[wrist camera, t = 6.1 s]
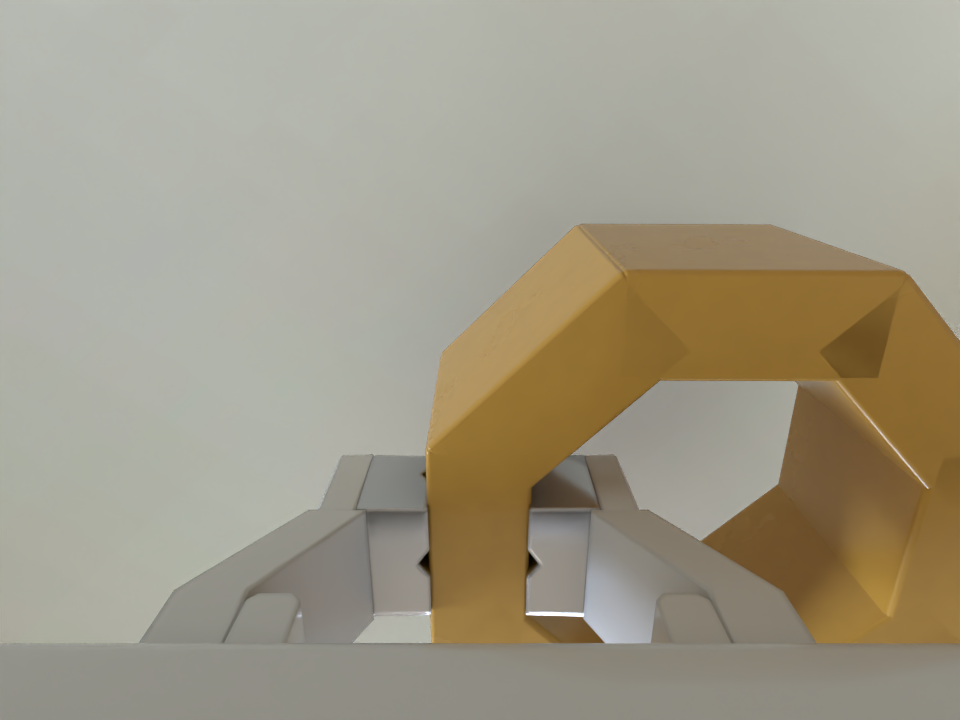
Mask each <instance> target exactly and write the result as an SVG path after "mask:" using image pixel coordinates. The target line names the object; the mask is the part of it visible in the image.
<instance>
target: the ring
mask: <svg viewBox="0 0 960 720" xmlns="http://www.w3.org/2000/svg"><path fill="white" fill-rule="evenodd" d="M660 380H671V381H795V382H796V383H797V384H798V390H797V395H796V400H795V405H794V410H793V415H792V420H791V424H790V429H789V434H788V439H787V444H786V449H785V454H784V459H783V464H782V469H781V474H780V479H779V484H778V485H776V486H775V487H774V488H772V489H771V490H770V491H768V492H767V493H766V494H764V495H763V496H761V497H760V498H759V499H757V500H756V501H755V502H753V503H752V504H751V505H749V506H748V507H747V508H745V509H744V510H742V511H741V512H740V513H738V514H737V515H736V516H734V517H733V518H732V519H730V520H729V521H727V522H726V523H725V524H723V525H722V526H721V527H719V528H718V529H717V530H715V531H714V532H712V533H711V534H710V535H708V536H707V537H706V538H704V539H703V540H702V541H701V542H702V543H704V544H706V545H707V546H709V547H711V548H712V549H714V550H716V551H717V552H719V553H721V554H722V555H724V556H726V557H727V558H729V559H731V560H732V561H734V562H736V563H737V564H739V565H740V566H742V567H744V568H745V569H747V570H749V571H750V572H752V573H754V574H755V575H757V576H759V577H760V578H762V579H764V580H765V581H767V582H769V583H770V584H772V585H774V586H775V587H777V588H779V589H780V590H782V591H783V592H784V593H785V595H786V596H787V598H788V599H789V601H790V603H791V604H792V606H793V607H794V609H795V610H796V612H797V613H798V615H799V616H800V618H801V620H802V621H803V623H804V624H805V626H806V627H807V629H808V630H809V632H810V633H811V635H812V637H813V638H814V640H815V641H816V643H960V341H959V340H958V338H957V337H956V336H955V334H954V333H953V332H952V330H951V329H950V328H949V326H948V325H947V324H946V322H945V321H944V320H943V318H942V317H941V316H940V314H939V313H938V312H937V311H936V309H935V308H934V307H933V305H932V304H931V303H930V301H929V300H928V299H927V297H926V296H925V295H924V293H923V292H922V291H921V289H920V288H919V287H918V285H917V284H916V283H915V282H914V280H913V279H912V278H911V276H910V275H908V274H906V273H905V272H904V271H902V270H899V269H897V268H894V267H891V266H888V265H885V264H882V263H879V262H876V261H874V260H871V259H868V258H865V257H862V256H859V255H856V254H854V253H851V252H848V251H845V250H842V249H839V248H836V247H833V246H831V245H828V244H825V243H822V242H819V241H816V240H813V239H810V238H808V237H805V236H802V235H799V234H796V233H793V232H790V231H788V230H785V229H782V228H779V227H776V226H773V225H751V224H580V225H577V226H575V227H574V228H573V229H571V230H570V231H569V232H568V233H567V234H566V235H565V236H564V237H563V238H562V239H561V240H560V241H559V242H558V243H557V244H556V245H555V246H554V247H553V248H552V249H550V250H549V251H548V252H547V253H546V254H545V255H544V256H543V257H542V258H541V259H540V260H539V261H538V262H537V263H536V264H535V265H534V266H533V267H532V268H531V269H529V270H528V271H527V272H526V273H525V274H524V275H523V276H522V277H521V278H520V279H519V280H518V281H517V282H516V283H515V284H514V285H513V286H512V287H511V288H510V289H508V290H507V291H506V292H505V293H504V294H503V295H502V296H501V297H500V298H499V299H498V300H497V301H496V302H495V303H494V304H493V305H492V306H491V307H490V308H488V309H487V310H486V311H485V312H484V313H483V314H482V315H481V316H480V317H479V318H478V319H477V320H476V321H475V322H474V323H473V324H472V325H471V326H470V327H469V328H467V329H466V330H465V331H464V332H463V333H462V334H461V335H460V336H459V337H458V338H457V339H456V340H455V341H454V342H453V343H452V344H451V345H450V346H449V347H448V348H446V349H445V350H444V351H443V353H442V355H441V358H440V364H439V370H438V376H437V383H436V389H435V395H434V401H433V407H432V414H431V420H430V426H429V432H428V438H427V445H426V451H425V457H426V490H427V503H428V514H429V536H430V548H429V551H428V555H429V569H430V571H431V600H432V611H431V615H430V621H431V642H432V643H605V642H604V641H603V640H602V639H601V638H600V637H599V636H598V635H597V634H596V632H595V631H594V630H593V629H592V628H591V627H590V626H589V625H588V624H587V622H586V621H585V620H584V619H583V616H555V615H526V609H525V607H526V572H527V570H528V567H529V551H528V548H527V536H528V512H529V504H530V503H531V498H532V486H534V485H535V484H536V483H537V482H538V481H540V480H541V479H542V478H543V477H544V476H546V475H547V474H548V473H549V472H550V471H552V470H553V469H554V468H555V467H557V466H558V465H559V464H560V463H561V462H563V461H564V460H565V459H566V458H567V457H569V456H570V455H571V454H572V453H573V452H575V451H576V450H577V449H578V448H579V447H581V446H582V445H583V444H584V443H585V442H587V441H588V440H589V439H590V438H591V437H593V436H594V435H595V434H596V433H597V432H599V431H600V430H601V429H602V428H603V427H605V426H606V425H607V424H608V423H609V422H611V421H612V420H613V419H614V418H615V417H617V416H618V415H619V414H620V413H621V412H623V411H624V410H625V409H626V408H627V407H629V406H630V405H631V404H632V403H633V402H635V401H636V400H637V399H638V398H639V397H641V396H642V395H643V394H644V393H645V392H647V391H648V390H649V389H650V388H651V387H653V386H654V385H655V384H656V383H657V382H659V381H660Z"/></svg>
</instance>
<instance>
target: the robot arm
mask: <svg viewBox="0 0 960 720" xmlns="http://www.w3.org/2000/svg"><path fill="white" fill-rule="evenodd" d="M429 548H430V536H429V514H428V503H427V490H426V457H425V456H396V455H375V456H374V455H372V454H370V455H343V456H341V457H340V459H339V461H338V463H337V466H336V468H335V470H334V473H333V475H332V477H331V480H330V482H329V484H328V487H327V489H326V491H325V494H324V496H323V499H322V501H321V503H320V506H319V508H318V510H308V511H306V512H304V513H303V514H301V515H299V516H297V517H296V518H294V519H292V520H291V521H289V522H287V523H286V524H284V525H282V526H281V527H279V528H277V529H276V530H274V531H272V532H271V533H269V534H267V535H266V536H264V537H262V538H261V539H259V540H257V541H256V542H254V543H252V544H251V545H249V546H247V547H246V548H244V549H242V550H241V551H239V552H237V553H236V554H234V555H232V556H231V557H229V558H227V559H226V560H224V561H222V562H220V563H219V564H217V565H215V566H214V567H212V568H210V569H209V570H207V571H205V572H204V573H202V574H200V575H199V576H197V577H195V578H194V579H192V580H190V581H189V582H187V583H185V584H184V585H182V586H180V587H179V588H177V589H175V590H174V591H173V592H172V594H171V595H170V597H169V598H168V600H167V601H166V603H165V604H164V606H163V607H162V609H161V611H160V612H159V614H158V615H157V617H156V618H155V620H154V621H153V623H152V624H151V626H150V627H149V629H148V630H147V632H146V633H145V635H144V636H143V638H142V639H141V641H140V642H139V643H0V720H960V643H816V641H815V640H814V638H813V637H812V635H811V633H810V632H809V630H808V629H807V627H806V626H805V624H804V623H803V621H802V620H801V618H800V616H799V615H798V613H797V612H796V610H795V609H794V607H793V606H792V604H791V603H790V601H789V599H788V598H787V596H786V595H785V593H784V592H783V591H782V590H780V589H779V588H777V587H775V586H774V585H772V584H770V583H769V582H767V581H765V580H764V579H762V578H760V577H759V576H757V575H755V574H754V573H752V572H750V571H749V570H747V569H745V568H744V567H742V566H740V565H739V564H737V563H736V562H734V561H732V560H731V559H729V558H727V557H726V556H724V555H722V554H721V553H719V552H717V551H716V550H714V549H712V548H711V547H709V546H707V545H706V544H704V543H702V542H701V541H699V540H697V539H696V538H694V537H692V536H691V535H689V534H687V533H686V532H684V531H682V530H681V529H679V528H677V527H676V526H674V525H673V524H671V523H669V522H668V521H666V520H664V519H663V518H661V517H659V516H658V515H656V514H654V513H653V512H651V511H649V510H639V508H638V506H637V504H636V501H635V499H634V496H633V494H632V492H631V489H630V487H629V485H628V482H627V480H626V478H625V475H624V473H623V470H622V468H621V466H620V463H619V461H618V459H617V457H616V456H615V455H613V454H608V455H586V456H584V455H570V456H569V457H567V458H566V459H565V460H564V461H563V462H561V463H560V464H559V465H558V466H557V467H555V468H554V469H553V470H552V471H550V472H549V473H548V474H547V475H546V476H544V477H543V478H542V479H541V480H540V481H538V482H537V483H536V484H535V485H534V486H532V498H531V503H530V504H529V512H528V536H527V548H528V551H529V567H528V570H527V572H526V607H525V609H526V615H555V616H583V619H584V620H585V621H586V622H587V624H588V625H589V626H590V627H591V628H592V629H593V630H594V631H595V632H596V634H597V635H598V636H599V637H600V638H601V639H602V640H603V641H604V642H605V643H353V642H354V641H355V640H356V638H357V637H358V636H359V635H360V634H361V633H362V632H363V631H364V630H365V628H366V627H367V626H368V625H369V624H370V623H371V622H372V621H373V620H374V616H401V615H431V611H432V600H431V571H430V569H429V555H428V551H429Z"/></svg>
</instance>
